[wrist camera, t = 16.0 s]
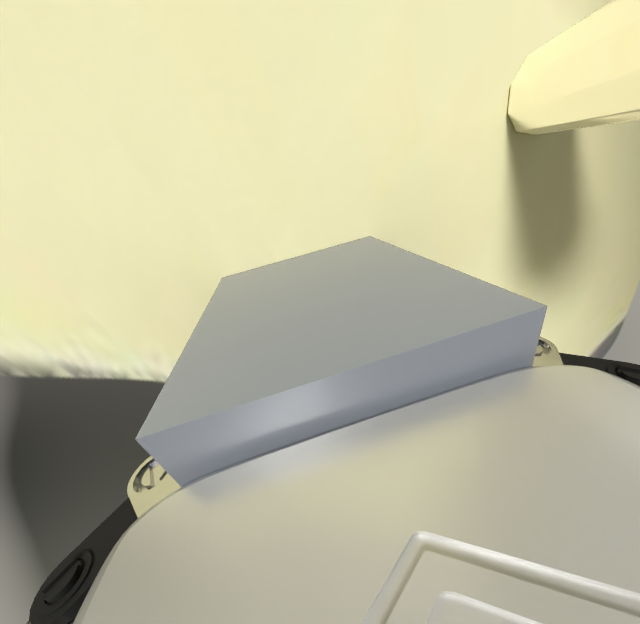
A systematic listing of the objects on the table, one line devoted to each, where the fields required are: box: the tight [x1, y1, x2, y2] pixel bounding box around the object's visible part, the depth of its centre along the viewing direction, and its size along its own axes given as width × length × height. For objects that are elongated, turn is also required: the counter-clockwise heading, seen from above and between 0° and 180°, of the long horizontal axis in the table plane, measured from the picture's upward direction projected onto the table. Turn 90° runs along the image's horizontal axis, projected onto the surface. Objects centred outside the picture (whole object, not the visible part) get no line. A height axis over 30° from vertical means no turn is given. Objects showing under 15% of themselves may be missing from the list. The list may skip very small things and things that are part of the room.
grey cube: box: [136, 236, 547, 487], centre depth 10 cm, size 8×8×9 cm
